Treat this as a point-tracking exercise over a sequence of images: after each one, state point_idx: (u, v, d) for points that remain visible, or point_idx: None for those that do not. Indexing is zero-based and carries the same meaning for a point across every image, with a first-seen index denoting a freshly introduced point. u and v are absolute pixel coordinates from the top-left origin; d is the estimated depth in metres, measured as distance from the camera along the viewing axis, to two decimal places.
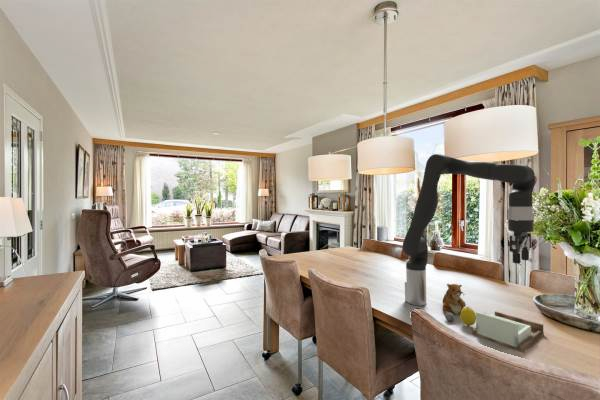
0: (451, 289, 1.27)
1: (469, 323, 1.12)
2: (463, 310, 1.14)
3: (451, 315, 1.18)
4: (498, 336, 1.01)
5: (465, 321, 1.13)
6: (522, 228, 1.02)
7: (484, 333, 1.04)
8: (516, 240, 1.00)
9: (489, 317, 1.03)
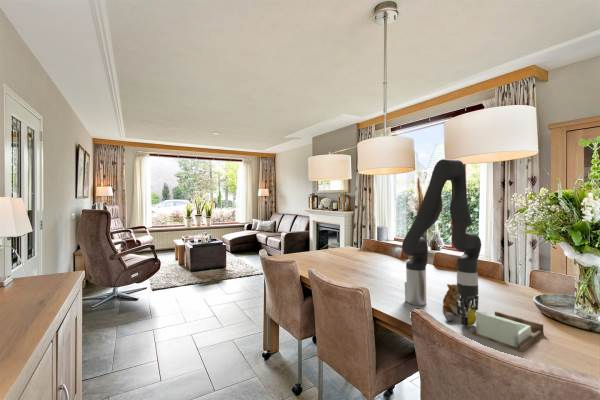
0: (451, 289, 1.27)
1: (469, 323, 1.12)
2: None
3: (451, 315, 1.18)
4: (498, 336, 1.01)
5: None
6: (467, 293, 1.11)
7: (484, 333, 1.04)
8: (462, 306, 1.10)
9: (489, 317, 1.03)
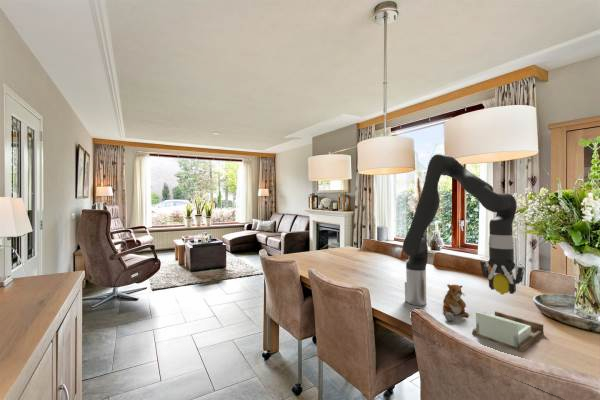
0: (451, 290, 1.27)
1: (494, 288, 1.06)
2: None
3: (451, 315, 1.18)
4: (498, 336, 1.01)
5: None
6: (489, 254, 1.07)
7: (484, 333, 1.04)
8: None
9: (489, 317, 1.03)
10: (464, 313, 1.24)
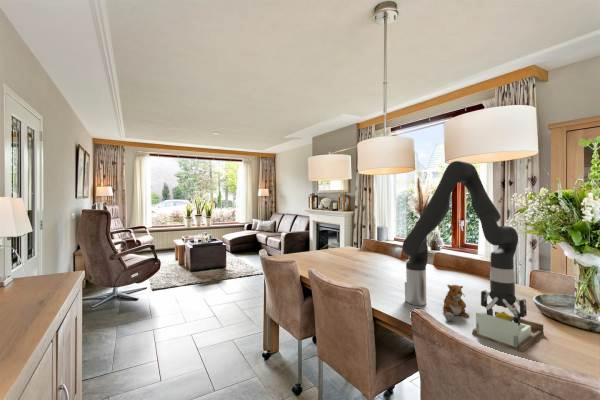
0: (451, 290, 1.26)
1: None
2: None
3: (451, 315, 1.18)
4: (498, 336, 1.01)
5: None
6: (490, 286, 1.07)
7: (484, 333, 1.04)
8: None
9: (489, 317, 1.03)
10: (464, 313, 1.24)
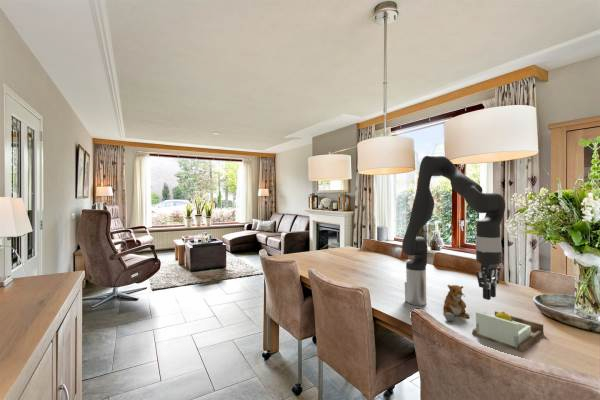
0: (452, 290, 1.26)
1: None
2: None
3: (451, 315, 1.18)
4: (498, 336, 1.01)
5: None
6: (489, 260, 0.96)
7: (484, 333, 1.04)
8: (483, 278, 0.95)
9: (489, 317, 1.03)
10: (464, 314, 1.23)
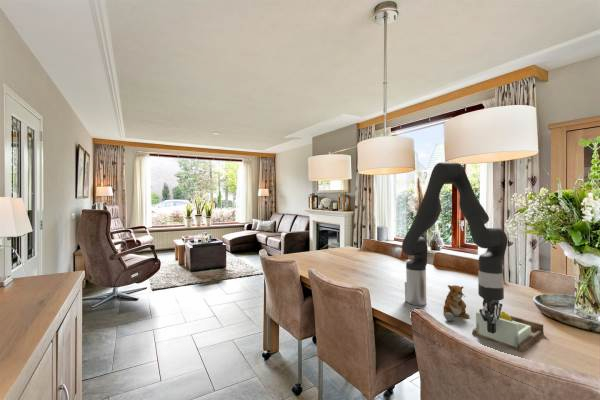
0: (452, 290, 1.26)
1: None
2: None
3: (451, 315, 1.18)
4: (498, 336, 1.01)
5: None
6: (491, 296, 0.97)
7: (484, 333, 1.04)
8: (487, 315, 0.96)
9: None
10: (464, 314, 1.23)
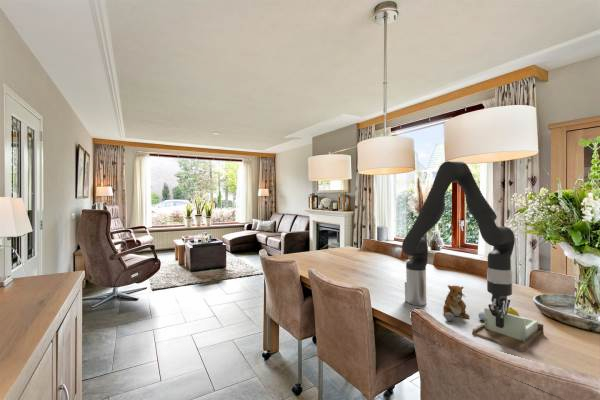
0: (452, 290, 1.25)
1: None
2: None
3: (451, 315, 1.18)
4: (506, 331, 1.05)
5: None
6: (500, 292, 1.01)
7: (492, 328, 1.08)
8: (496, 310, 1.00)
9: None
10: (464, 314, 1.23)
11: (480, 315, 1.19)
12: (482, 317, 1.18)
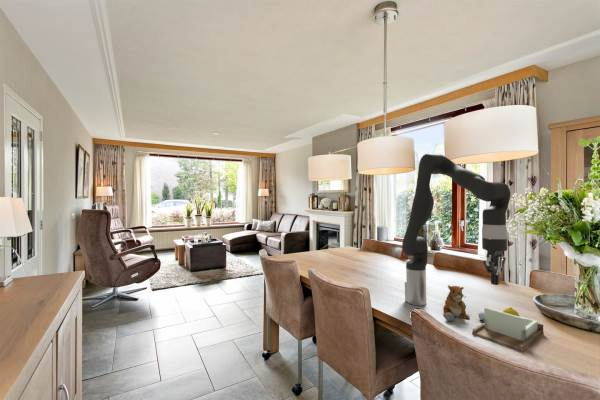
0: (451, 291, 1.25)
1: None
2: None
3: (451, 315, 1.18)
4: (506, 331, 1.04)
5: None
6: (495, 247, 0.98)
7: (492, 328, 1.08)
8: (491, 266, 0.98)
9: (497, 312, 1.07)
10: (464, 315, 1.22)
11: (480, 315, 1.19)
12: (482, 317, 1.18)
